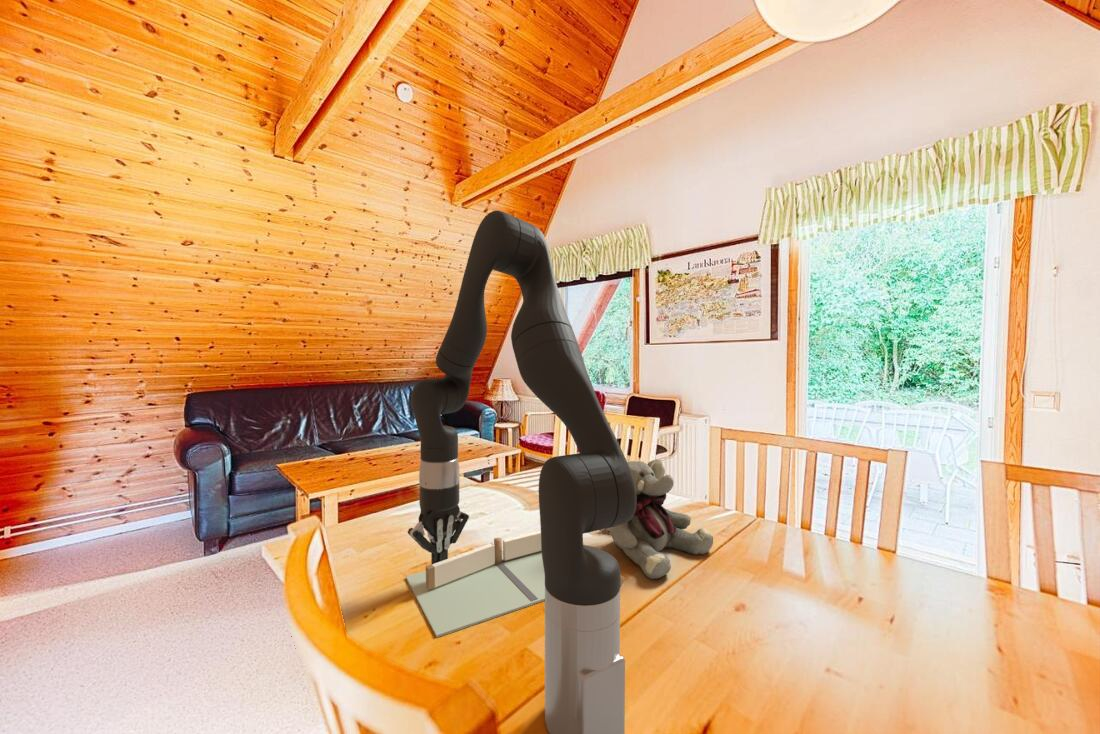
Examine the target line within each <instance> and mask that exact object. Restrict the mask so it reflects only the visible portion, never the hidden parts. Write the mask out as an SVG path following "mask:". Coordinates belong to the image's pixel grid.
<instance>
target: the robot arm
mask: <svg viewBox="0 0 1100 734" xmlns="http://www.w3.org/2000/svg"><path fill="white" fill-rule="evenodd" d="M493 271H496V272H499V273H502V274H505V275H508V276H511V277H513V278H514V279H515V280H516V281H517V283H518V286H519V289H520V292H521V295H522V300H523V301H522V303H521V306H520V308H519V311H518V313H517V314H516V316H515V319H514V322H513V324H512V327H511V332H510V339H511V340H510V341H511V345H512V350H513V353H514V354H513V355H514V357H515V360H516V364H517V368H518V371H519V375H520V377H521V379H522V381H523V382H524V384H525V385H526V386H527V388H528V389H529V390H530V391H531V392H532V393H533V395H535V396H536V398H538V399H539V401H541V402H542V403H543V404H544V405H545V406H546V407H547V408H548V409H549V410H550V411H551V412H553V414H555V416H556V417H558V419H559V420H560V421H561V422H562V423H563V424H564V426H565V427H566V429H567V430H568V432H569V433H570V435H571V437H572V438H573V441H574V443H575V445H576V448H577V450H578V452H579V453H573V454H565V455H558V456H553V457H550V458H548V459H547V460H546V461H545V462H544V463H543V465H542V467H541V470H540V474H539V478H538V503H539V504H538V505H539V506H538V507H539V508H538V509H539V521H540V531H541V551H542V559H543V566H544V573H545V601H544V721H545V726H546V728H547V731H548V733H549V734H626V733H625V732H626V731H625V730H626V728H625V727H626V726H625V725H626V723H625V722H626V720H625V718H626V716H625V715H626V714H625V712H626V711H625V709H626V708H625V707H626V705H625V704H626V659H625V658H624V656H623V655H621V654H620V653H621V645H620V644H621V587H620V575H621V568H620V565H619V562H618V560H617V559H616V558H615V557H614V556H613V555H612V554H611V553H609V552H608V551H605V550H604V549H602V548H598V547H595V546H591V545H585V544H584V536H583V535H584V534H587V533H591V532H597V531H600V530H606V528H610V527H615V526H618V525H622V524H625V523H627V522H628V521H630V520H631V519H632V517H633V515H634V513H635V510H636V504H637V496H636V489H635V484H634V480H633V477H632V474H631V471H630V468H629V465H628V463H627V462H628V461H627V458H626V457H625V454H624V452H623V450H622V447H621V445H620V443H619V441H618V440H617V437H616V435H615V434H614V431H613V429H612V427H611V425H610V423H609V420H608V418H607V416H606V415H605V412H604V410H603V408H602V405H601V404H600V401H599V398H598V397H597V394H596V391H595V388H594V387H593V386H594V385H593V384H592V381H591V378H590V374H589V372H588V370H587V367H586V365H585V362H584V358H583V356H582V352H581V348H580V346H579V344H578V343H579V342H578V340H577V337H576V334H575V332H574V330H573V327H572V324H571V321H570V319H569V317H568V315H567V312H566V309H565V306H564V305H565V304H564V303H563V300H562V297H561V294H560V290H559V288H558V284H557V282H556V277H555V273H554V269H553V264H552V258H551V254H550V251H549V246H548V242H547V239H546V237H545V235H544V233H543V232H542V231H541V229H540V228H538V227H537V226H536V225H534V224H532V223H530V222H527V221H525V220H523V219H521V218H519V217H516V216H514V215H511V214H510V213H507V212H505V211H502V210H492V211H491V212H489V213H487V214H486V215H485V216H484V217H483V219H482V220H481V222H480V223H479V225H478V227H477V230H476V232H475V234H474V238H473V241H472V243H471V247H470V251H469V255H468V258H467V263H466V265H465V269H464V272H463V276H462V279H461V285H460V289H459V293H458V297H457V301H456V304H455V305H456V306H455V308H454V311H453V315H452V318H451V321H450V323H449V326H448V328H447V330H446V332H445V335H444V338H443V339H442V342H441V344H440V347H439V349H438V351H437V354H436V356H435V357H436V358H435V364H436V367H437V368H438V370H439V371H441V372H442V373H443V374H444V375H443V377H435V378H424V379H421V380H419V381H417V382H416V383H415V385H414V386H413V388H412V391H411V394H410V405H411V409H412V413H413V417H414V420H415V423H416V428H417V430H418V435H419V439H420V462H419V463H420V464H419V475H418V478H419V479H418V482H419V484H418V486H419V487H418V488H419V489H418V491H419V495H418V496H419V502H418V503H419V507H420V513H419V515H418V522H417V524H416V525H415V526H414V528H413V527H410V528H408V530H407V534H408V535H409V536H410V537H411V538H412V539H413V540H414V542H416V543H417V544H418V545H419V547H420V548H422V549H423V550H425V551H426V552H428V553H431V555H430V556H431V562H430V563H431V564H430V565H432V564H434V563H437V562H440V561H443V560H446V559H449V548H450V546H451V545H452V544H456V543H457V541H458V540H459V538H460V535H461V533H462V532H463V530H464V528H465V526H466V524H467V522H468V520H469V518H470V515H469V514H467V513H466V512H463V511H461V509H460V506H459V503H460V465H459V435H458V431H457V429H456V427H453V426H451V425H450V426H449V425H444V424H443V422H442V419H441V415H446V414H447V415H448V414H453V413H456V412H458V411H460V410H461V409H462V408H463V407H464V405H465V404H466V402H467V400H468V397H469V393H470V389H471V388H470V387H471V382H472V375H473V374H472V373H473V369H474V368H475V366H476V363H477V361H478V360H479V359H478V358H479V357H480V355H481V352H482V351H483V349H484V346H485V343H486V340H487V339H486V338H487V334H488V324H487V323H488V322H487V316H486V309H485V308H486V307H485V290H486V286H487V284H488V283H487V282H488V281H489V278H490V276H491V273H492V272H493ZM425 531H426V532H427V537H428V539H427V538H426V537H425V534H426V533H425Z"/></svg>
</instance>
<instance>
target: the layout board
mask: <svg viewBox="0 0 1100 734" xmlns="http://www.w3.org/2000/svg"><path fill="white" fill-rule="evenodd" d="M405 580H406V581H407V584H408V585H409V587H410V589H411V591H412V592H413V595H414V596H415V598H416V600H417V602H418V605H419V606H420V608H421V610H422V612H423V614H424V616H425V618H426V620H427V622H428V623H429V626H430V627H431V629H432V631H433V633H434V636H435V637H436V638H440V637H442V636H446V635H449V634H451V633H454V632H457V631H460V630H463V629H466V628H469V627H472V626H475V625H478V624H480V623H484V622H486V621H489V620H492V619H495V618H498V617H501V616H503V615H507V614H510V613H513V612H517V611H519V610H521V609H525V608H528V607H530V606H533V605H536V604H538V603H542V602H545V573H544V566H543V559H542V551H538V552H534V553H531V554H527V555H524V556H520V557H516V558H513V559H509V560H504V559H503V550H502V563H501V564H493V565H491V566H488V567H486V568H483V569H481V570H478V571H476V572H473V573H471V574H468V575H466V576H463V577H460V578H458V579H455V580H453V581H450V582H448V583H445V584H443V585H440V586H438V587H435V588H433V589H430V590H429V589H427V588H426V570H424V571H420V572H416V573H413V574H408V575H405Z"/></svg>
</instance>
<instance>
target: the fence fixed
mask: <svg viewBox="0 0 1100 734" xmlns="http://www.w3.org/2000/svg"><path fill="white" fill-rule="evenodd" d="M493 544H494V545H495V564H501V563H502V551H503V559H504V560H509V559H513V558H516V557H520V556H524V555H527V554H531V553H534V552H538V551H541V530H537V531H534V532H528V533H525V534H522V535H517V536H514V537H509V538H506V539H502V537H495V538H493Z"/></svg>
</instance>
